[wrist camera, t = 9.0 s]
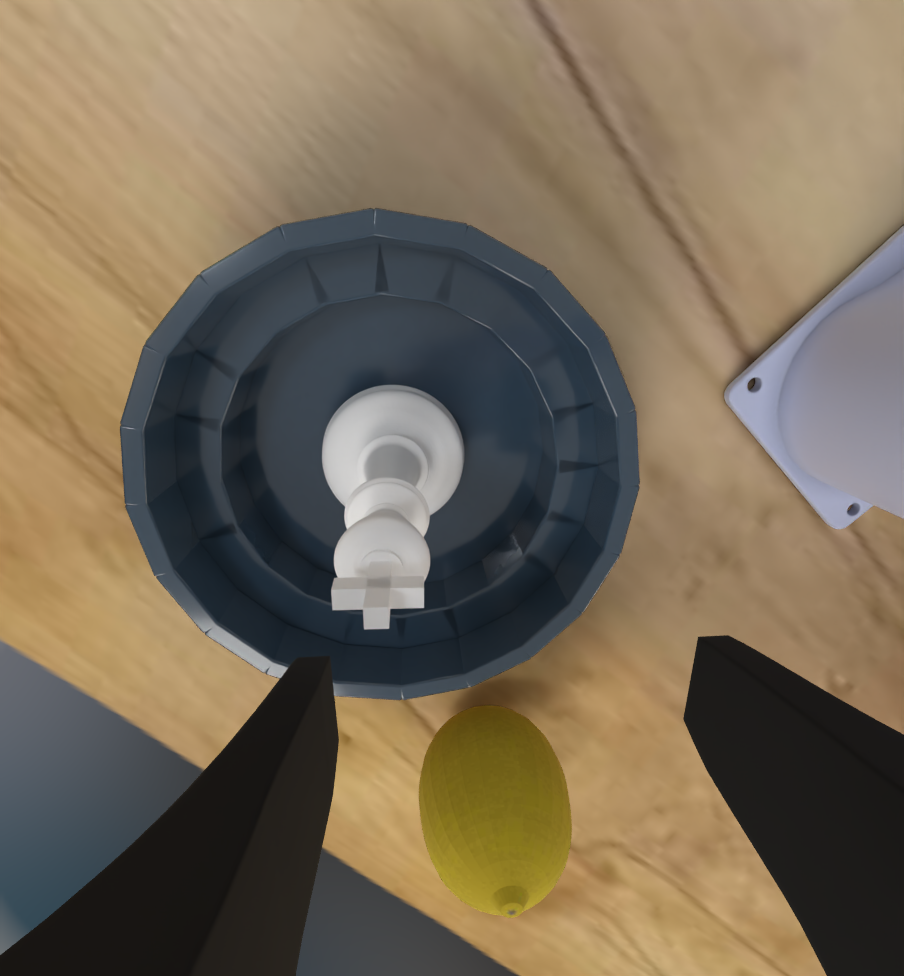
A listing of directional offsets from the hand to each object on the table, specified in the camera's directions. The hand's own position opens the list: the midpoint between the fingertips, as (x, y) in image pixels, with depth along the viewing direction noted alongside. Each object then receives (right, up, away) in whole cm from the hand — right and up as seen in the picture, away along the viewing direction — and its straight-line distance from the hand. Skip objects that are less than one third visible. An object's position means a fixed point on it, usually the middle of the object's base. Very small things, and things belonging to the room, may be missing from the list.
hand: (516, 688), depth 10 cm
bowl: (-3, +5, +9) cm, 11 cm away
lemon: (0, -6, +13) cm, 15 cm away
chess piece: (-3, +5, +8) cm, 10 cm away
